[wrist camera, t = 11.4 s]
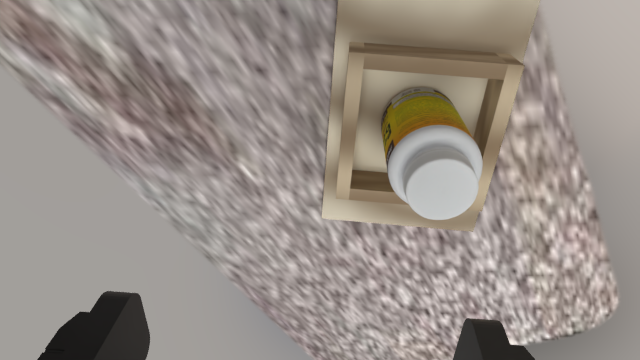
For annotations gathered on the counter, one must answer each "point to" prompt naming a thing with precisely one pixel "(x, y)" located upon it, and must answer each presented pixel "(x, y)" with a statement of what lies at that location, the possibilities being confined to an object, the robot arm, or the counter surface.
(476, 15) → the cup caddy
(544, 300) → the counter surface
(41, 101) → the counter surface
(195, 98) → the counter surface
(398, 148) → the supplement bottle
